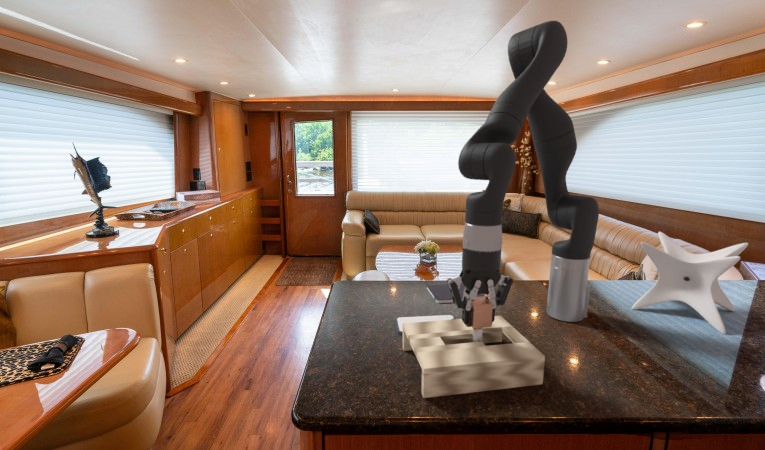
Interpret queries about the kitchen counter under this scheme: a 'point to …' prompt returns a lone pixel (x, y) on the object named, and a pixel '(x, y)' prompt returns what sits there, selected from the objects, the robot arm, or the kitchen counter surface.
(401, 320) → the smartphone
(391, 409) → the kitchen counter surface
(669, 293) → the white spiked concave cube
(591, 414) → the kitchen counter surface
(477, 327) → the footed peg
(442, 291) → the notebook
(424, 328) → the keyhole plate
